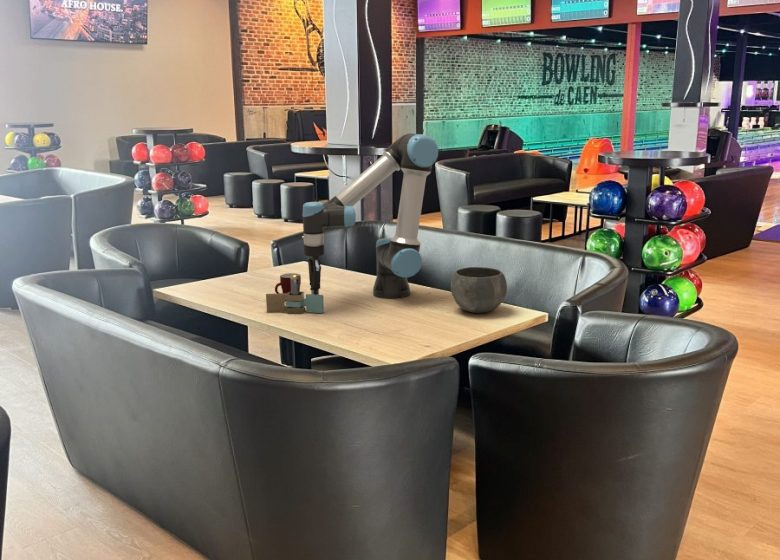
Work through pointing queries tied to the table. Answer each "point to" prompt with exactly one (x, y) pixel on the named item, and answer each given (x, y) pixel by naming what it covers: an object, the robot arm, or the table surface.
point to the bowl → (478, 289)
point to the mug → (286, 282)
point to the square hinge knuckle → (277, 303)
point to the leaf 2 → (309, 303)
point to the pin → (295, 286)
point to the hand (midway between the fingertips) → (315, 305)
